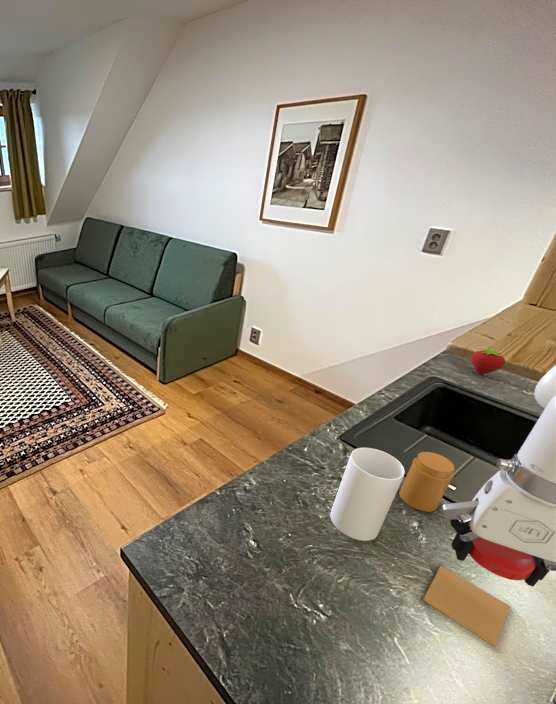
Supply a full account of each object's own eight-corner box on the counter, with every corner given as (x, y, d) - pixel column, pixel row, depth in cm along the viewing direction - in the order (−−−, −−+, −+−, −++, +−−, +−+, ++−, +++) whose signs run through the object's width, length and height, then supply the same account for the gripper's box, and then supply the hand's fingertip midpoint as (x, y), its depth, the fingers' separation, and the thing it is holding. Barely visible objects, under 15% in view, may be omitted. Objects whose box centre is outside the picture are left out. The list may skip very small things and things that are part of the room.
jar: (441, 500, 83) (461, 462, 78) (431, 517, 80) (451, 478, 75) (405, 482, 88) (421, 445, 83) (394, 497, 84) (410, 460, 79)
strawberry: (495, 383, 119) (510, 353, 114) (462, 373, 124) (475, 345, 119) (498, 375, 122) (513, 346, 117) (466, 366, 127) (479, 338, 122)
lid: (469, 565, 59) (475, 557, 58) (461, 529, 64) (466, 521, 63) (536, 589, 55) (543, 581, 54) (522, 549, 61) (528, 541, 60)
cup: (331, 500, 85) (350, 442, 77) (377, 515, 81) (403, 456, 73) (328, 529, 79) (350, 469, 71) (379, 547, 75) (407, 486, 67)
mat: (509, 607, 65) (510, 606, 64) (495, 647, 60) (496, 645, 60) (439, 567, 71) (440, 565, 71) (422, 600, 66) (423, 598, 66)
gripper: (468, 474, 54) (421, 558, 62) (669, 529, 45) (584, 618, 54) (459, 441, 59) (417, 522, 68) (637, 485, 51) (564, 572, 59)
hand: (491, 564), depth 60 cm, fingers closed on lid, 7 cm apart
